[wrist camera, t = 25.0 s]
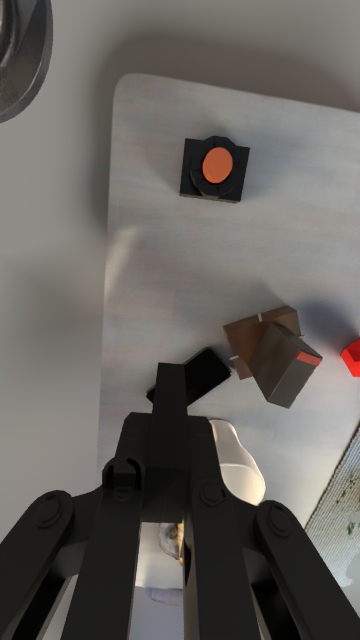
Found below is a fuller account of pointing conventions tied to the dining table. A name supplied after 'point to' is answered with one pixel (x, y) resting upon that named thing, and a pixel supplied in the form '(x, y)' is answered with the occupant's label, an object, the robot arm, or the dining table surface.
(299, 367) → the dark grey block
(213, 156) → the button
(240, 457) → the cup
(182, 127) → the dining table surface
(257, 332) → the base
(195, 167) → the button block
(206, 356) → the smartphone
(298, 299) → the dining table surface
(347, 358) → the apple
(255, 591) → the robot arm
